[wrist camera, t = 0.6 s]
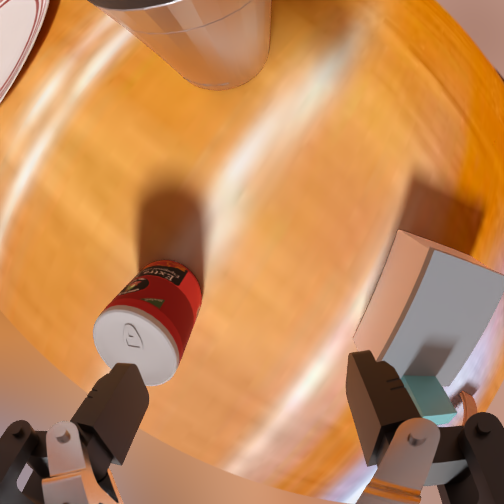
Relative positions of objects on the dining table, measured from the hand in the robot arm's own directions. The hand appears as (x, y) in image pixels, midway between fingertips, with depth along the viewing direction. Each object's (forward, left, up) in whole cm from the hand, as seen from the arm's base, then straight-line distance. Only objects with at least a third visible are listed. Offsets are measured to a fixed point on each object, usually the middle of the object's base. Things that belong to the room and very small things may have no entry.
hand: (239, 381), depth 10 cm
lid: (+3, +20, -14) cm, 25 cm away
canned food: (+8, -8, -20) cm, 23 cm away
